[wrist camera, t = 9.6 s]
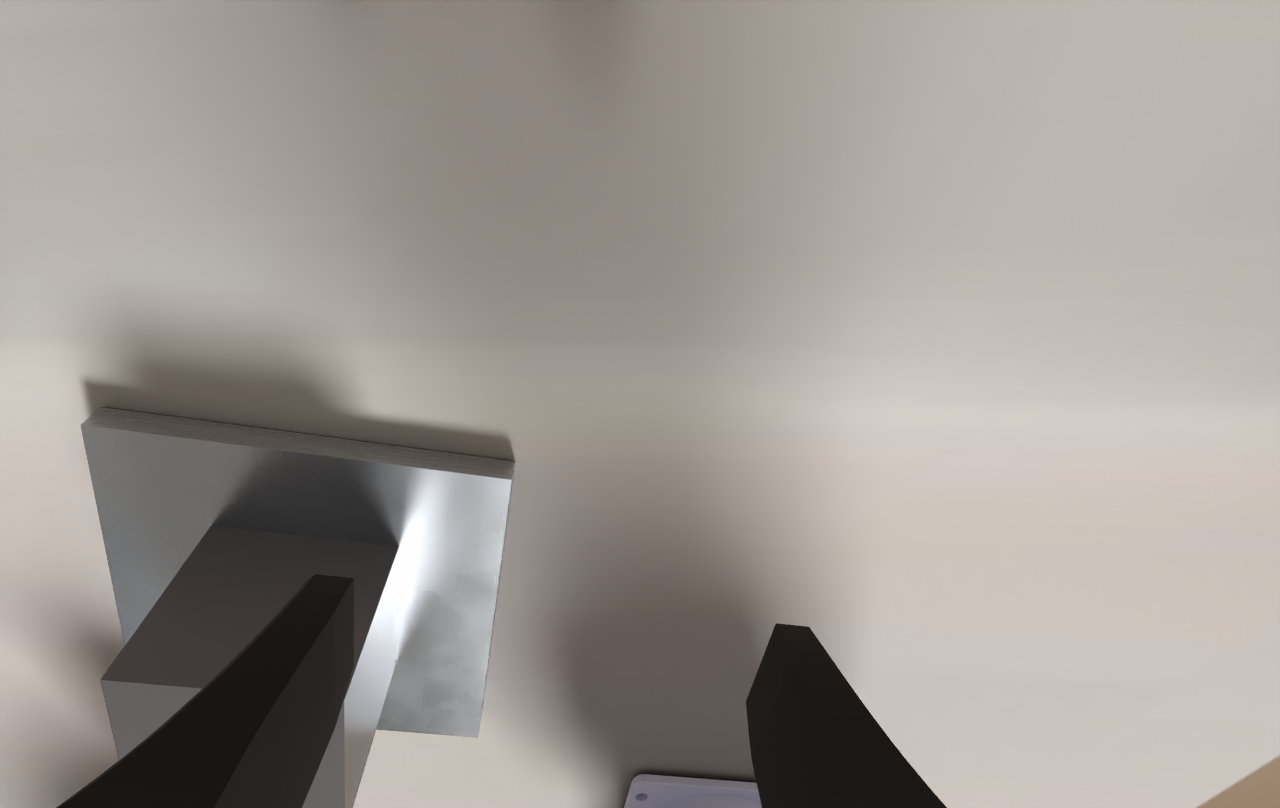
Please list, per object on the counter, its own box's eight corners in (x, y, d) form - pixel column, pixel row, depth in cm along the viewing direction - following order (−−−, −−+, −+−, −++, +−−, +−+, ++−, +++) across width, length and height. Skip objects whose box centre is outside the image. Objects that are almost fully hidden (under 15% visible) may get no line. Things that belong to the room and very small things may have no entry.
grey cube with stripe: (394, 669, 26) (342, 840, 21) (225, 653, 25) (128, 827, 20) (399, 546, 23) (341, 707, 18) (211, 525, 23) (95, 687, 18)
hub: (481, 714, 29) (458, 856, 24) (152, 686, 27) (59, 832, 23) (515, 461, 23) (493, 581, 19) (101, 407, 22) (-36, 524, 17)
